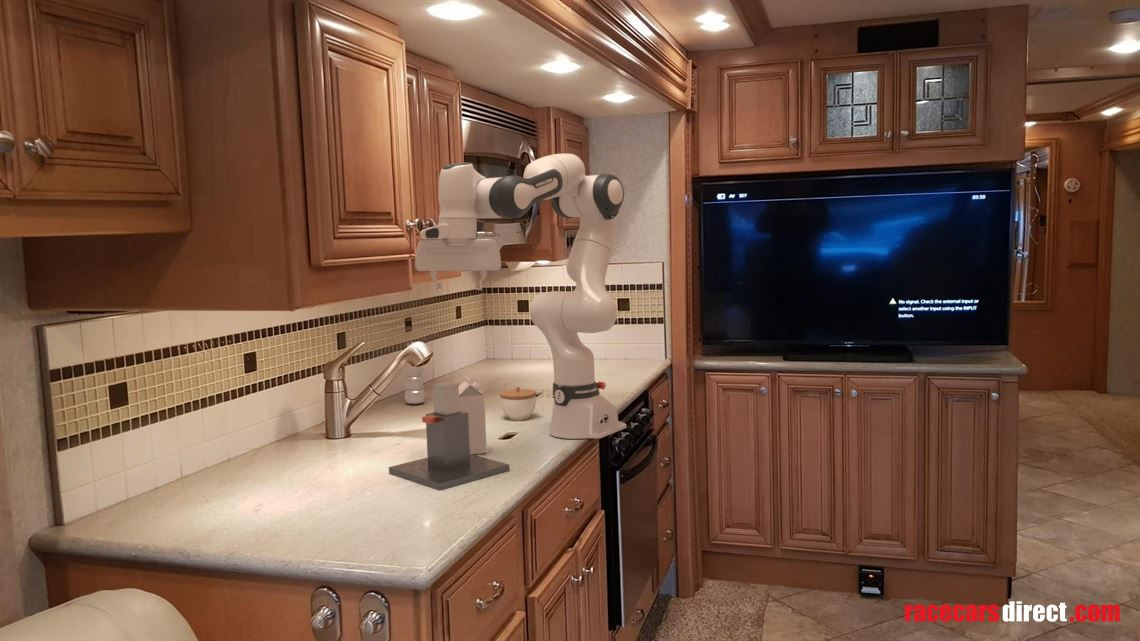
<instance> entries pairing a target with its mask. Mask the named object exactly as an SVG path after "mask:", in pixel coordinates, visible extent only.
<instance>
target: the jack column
mask: <svg viewBox="0 0 1140 641" xmlns="http://www.w3.org/2000/svg"><path fill="white" fill-rule="evenodd" d="M459 386H460V385H459V383H458V382H451V381H443V382H437V383H432V390H433V391H432V394H433V396H432V397H433V412H434V414H435V415H439V416H443V417H446V416H451V415H455V414H460V410H459Z"/></svg>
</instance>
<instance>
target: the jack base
mask: <svg viewBox="0 0 1140 641" xmlns="http://www.w3.org/2000/svg"><path fill="white" fill-rule="evenodd" d="M421 420H422V421H421V422H422V423H425V426H426V427H425V428H426V429H425V430H426V431H425V432H426V447H427V448H426V451H427V453H426V454H427V457H424V458H421V459H417V460H413V461H409V462H405V463H401V464H397V465H392V466H389V467H388V473H389V474H390V475H393V476H395V477H399V478H402V479H404V480H405V479H406V480H409V481H411V482H414V483H417V484H420V485H423V486H426V487H430V488H432V489H435V490H438V491H442V490H445V489H450V488H453V487H457V486H460V485H463V484H467V483H470V482H475V481H477V480H481V479H484V478H488V477H491V476H492V477H493V476H496V475H499V474H503V473H506V472H510V464H509V463H506V462H501V461H498V460H494V459H491V458H488V457H483V456H480V455H477V454H470V449H469V423H468V413H466V412H461V411H460V414H455V415H451V416H446V417H443V416H439V415H435V414H434V411H433V412H429V413H425V416H422V417H421Z"/></svg>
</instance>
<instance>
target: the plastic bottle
mask: <svg viewBox="0 0 1140 641" xmlns="http://www.w3.org/2000/svg"><path fill="white" fill-rule="evenodd" d="M412 343H413V342H408V343H406V348H407V347H408V346H409V345H411V344H412ZM423 368H424V364H423V365H422V366H420V367H412V366H410V365H406V366H404V370H405V372H404V373H405V379H406V380H405V390H404V391H405V392H404V400H405V402H406V403H407V404H409V405H419V404H422V403H424V401H425V398H426V393H425V389H424V383H423V382H424V381H423V370H424V369H423Z"/></svg>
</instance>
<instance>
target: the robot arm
mask: <svg viewBox="0 0 1140 641" xmlns="http://www.w3.org/2000/svg"><path fill="white" fill-rule="evenodd" d="M437 188H438V190H437V191H438V197H437V198H438V203H439V210H440V212H439V215H438V225H432V226H431V227H428V228H424V229H422V230H420V232H419V236H420V239H421V240H420V241H419V242H418V244H417V245H416V251H415V259H414V262H415V263H414V268H415V269H416V270H417V271H418V272H430V278H431V279H432V280H433V283H434V284H435V286H434V287H435V291H443V287H442V286H443V283H442V282H439V281H438V279H437V278H436V277H437V275H438V272H455V271H456V272H460V271H462V272H463V271H464V272H465V271H466V272H467V271H470V272H471V271H473V272H474V271H475V272H476V271H480V276H481V278H480V280H479V281H478V282H475V291H483V282H484V280H485V279H486V277H487V271H499V270H500V269H502V260H501V252H500V250H501V249H503V248H502V247H503V238H502V235H500V234H499V233H497V232H496V231H477V230H478V228H477V226H478V224H477V223H478V222H477V219H514V220H515V219H516V220H517V219H519V218H522V216H524V215H525V214H526V213H527V212H528V211H529V210H530V208H531V207H533V206H534V205H536V204H537V203H538V202H541V201H543V200H544V201H545V200H550V206H551V208H552V210H553V211H554V213H555V214H556V215H557V216H558V217H560V218H564V219H574V218H579V223H580V224H579V229H578V230H577V233H576V235H575V238H574V240H573V243H572V247H571V250H570V253H569V255H568V259H567V262H566V267H565V268H566V273H567V275H568V276H569V278H570V279H571V280H572V281H573V282H574V283H576V285H575V289H574V290H571V291H566V290H565V291H564V290H563V291H559V290H558V291H557V290H551V291H546V292H543V293H539V294H537V295H535V297H533V299H532V301H531V303H530V306H529V313H530V314H529V316H530V319H531V322H532V323H533V325H534V326H535V327H536V328H537V329H539V330H540V331H541V333H542V334H543V335H544V337H545V339H546V341H547V343H548V345H549V348H550V351H551V354H552V363H553V380H554V381H553V383H552V395H553V396H552V397H553V399H554V400H553V407H552V419H551V424H550V431H549V435H551V436H553V437H555V438H558V439H568V440H569V439H573V440H575V439H577V440H579V439H580V440H581V439H602V438H604V437H607V436H609V435H612V434H615V433H617V432H619V431H622V430H624V429H627V428H628V426H627V424H626V423H625V422H623V421H619V416H618V410H617V407H616V406H615V405H614V404H613V403H611V402H610V401H609V400H607V399H606V398H605V397H604V396H602V395H601V393H600V390H605V389H606V388H607V387H606V386H607V384H606V382H605V381H598V382H596V381H595V376H596V375H595V357H594V353H593V351H592V350H591V349H590V348H589V347H587V346H586V345H585V344H583V342H582V341H581V339H580V337H579V333H583V334H596V333H603V332H606V331H607V332H608V331H609V330H611V329H612V327H613V326H614V325H615V323H616V321H617V317H618V309H617V308H618V307H617V304H616V302H615V300H614V299H613V297H612V296H611V295H609V293H608V291H607V287H606V275H607V271H608V267H609V264H610V260H611V257H612V253H613V249H614V244H615V237H616V229H617V228H616V224H615V221H614V220H613V219H614V218H616V217H617V215H618V214H619V212H620V209H621V207H622V204H623V201H624V196H625V190H624V189H625V188H624V185H623V184H622V181H621V180H620V179H619V178H618V176H616V175H614V174H609V173H601V174H595V175H594V174H593V175H586V167H585V164H584V162H583V160H582V159H581V158H580V157H579V156H577V155H576V154H573V153H556V154H554V153H553V154H548V155H546V156H543V157H539V158H537V159H534V160H533V161H531V162H530V163H528V164H527V165H526V166H525V169H524V172H523V177H522V176H519V175H517V174H516V175H513V174H512V175H508V176H507V175H506V176H499V177H489V178H487V177H486V176H484V175H482V174H480V173H479V172H478V171H477V170H476V168H474V164H473V163H472V162H469V161H467V162H466V161H465V162H463V161H462V162H457V163H449V164H445V165H444V166H443V167H441V169H440V172H439V178H438V187H437Z"/></svg>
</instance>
